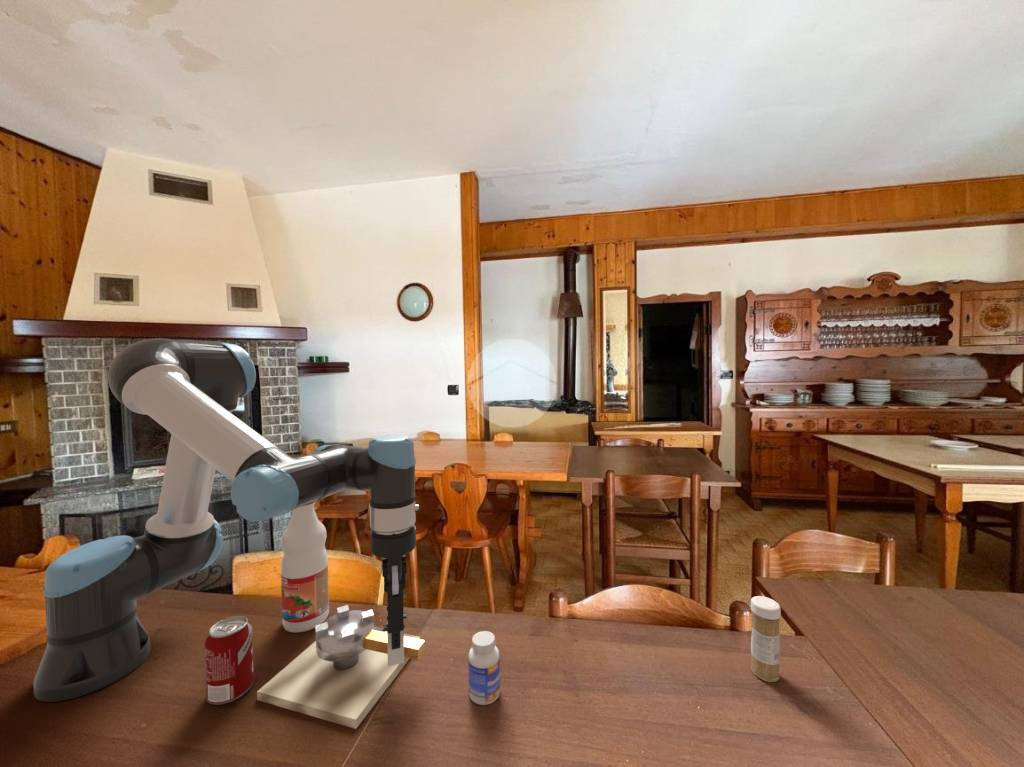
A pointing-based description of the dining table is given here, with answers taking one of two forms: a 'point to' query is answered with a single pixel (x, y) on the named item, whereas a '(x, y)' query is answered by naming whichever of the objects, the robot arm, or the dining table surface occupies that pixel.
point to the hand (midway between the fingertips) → (396, 661)
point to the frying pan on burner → (357, 637)
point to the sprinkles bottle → (765, 638)
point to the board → (332, 685)
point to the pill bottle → (484, 669)
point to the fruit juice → (304, 571)
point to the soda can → (229, 660)
